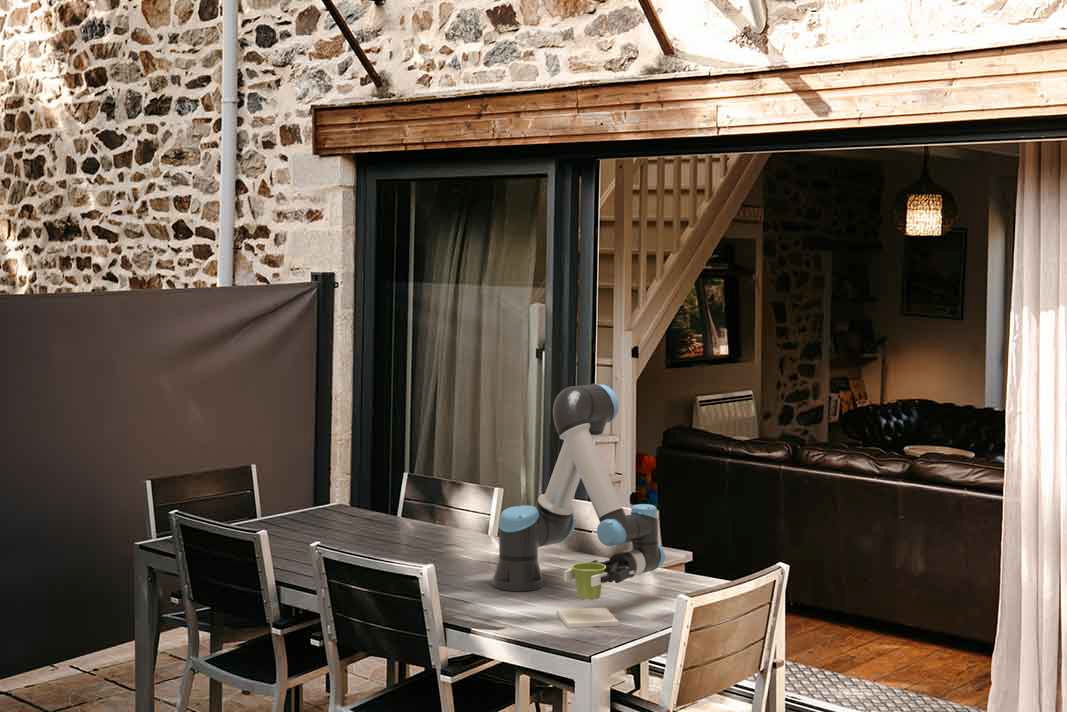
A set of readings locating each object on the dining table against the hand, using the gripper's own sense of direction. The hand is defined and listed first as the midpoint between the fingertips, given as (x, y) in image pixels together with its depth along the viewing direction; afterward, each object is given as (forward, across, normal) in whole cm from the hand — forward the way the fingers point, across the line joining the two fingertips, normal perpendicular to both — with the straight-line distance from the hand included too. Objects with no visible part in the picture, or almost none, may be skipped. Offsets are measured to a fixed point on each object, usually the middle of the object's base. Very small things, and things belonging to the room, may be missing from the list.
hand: (578, 578), depth 336 cm
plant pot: (-5, 0, -6) cm, 8 cm away
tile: (-5, 0, -12) cm, 13 cm away
